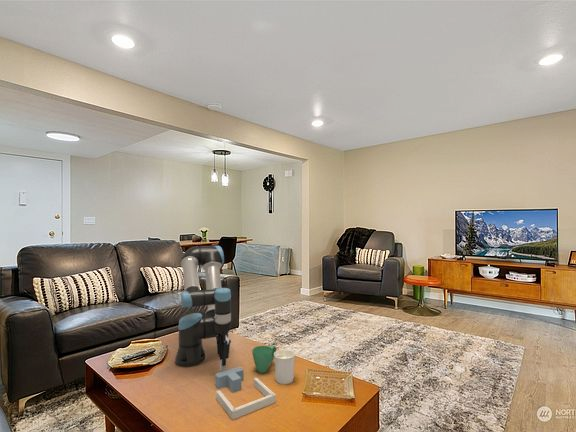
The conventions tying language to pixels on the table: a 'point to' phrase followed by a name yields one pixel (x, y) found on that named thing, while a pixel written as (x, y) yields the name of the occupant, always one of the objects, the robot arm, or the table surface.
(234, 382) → the t block
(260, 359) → the mug
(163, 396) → the table surface
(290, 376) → the candle holder
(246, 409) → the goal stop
